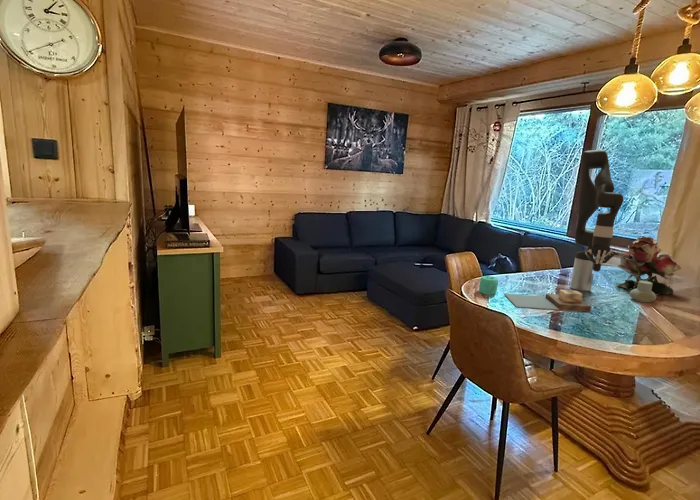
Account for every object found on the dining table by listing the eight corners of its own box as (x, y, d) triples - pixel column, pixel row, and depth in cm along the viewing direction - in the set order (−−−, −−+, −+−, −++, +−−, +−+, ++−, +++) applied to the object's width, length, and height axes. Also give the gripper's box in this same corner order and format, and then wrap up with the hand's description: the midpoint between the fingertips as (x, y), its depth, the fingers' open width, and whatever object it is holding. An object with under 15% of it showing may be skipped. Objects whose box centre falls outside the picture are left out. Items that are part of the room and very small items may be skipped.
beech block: (575, 298, 193) (576, 290, 193) (581, 302, 188) (582, 294, 187) (558, 297, 194) (559, 289, 193) (563, 301, 188) (565, 293, 187)
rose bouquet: (681, 293, 218) (693, 241, 212) (642, 296, 210) (653, 241, 203) (636, 280, 242) (646, 232, 236) (599, 282, 233) (609, 233, 227)
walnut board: (573, 300, 199) (574, 295, 198) (590, 311, 183) (591, 306, 183) (545, 298, 200) (546, 293, 199) (559, 309, 184) (559, 304, 184)
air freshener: (631, 301, 201) (635, 282, 199) (627, 296, 208) (630, 278, 206) (657, 304, 197) (661, 285, 195) (651, 300, 205) (655, 281, 203)
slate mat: (543, 297, 201) (543, 296, 201) (559, 310, 183) (560, 309, 183) (504, 294, 203) (504, 293, 202) (516, 307, 184) (516, 306, 184)
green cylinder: (478, 293, 203) (480, 278, 201) (481, 289, 210) (482, 274, 208) (494, 296, 199) (496, 281, 198) (496, 292, 206) (498, 277, 205)
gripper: (613, 235, 187) (606, 270, 190) (584, 233, 188) (577, 268, 191) (622, 237, 179) (615, 274, 183) (592, 235, 180) (585, 272, 184)
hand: (596, 271), depth 187 cm, fingers closed
